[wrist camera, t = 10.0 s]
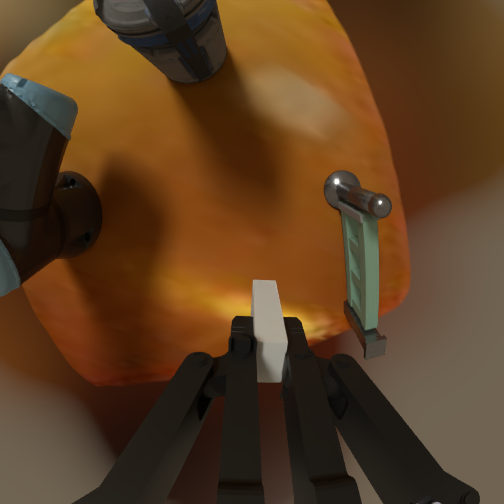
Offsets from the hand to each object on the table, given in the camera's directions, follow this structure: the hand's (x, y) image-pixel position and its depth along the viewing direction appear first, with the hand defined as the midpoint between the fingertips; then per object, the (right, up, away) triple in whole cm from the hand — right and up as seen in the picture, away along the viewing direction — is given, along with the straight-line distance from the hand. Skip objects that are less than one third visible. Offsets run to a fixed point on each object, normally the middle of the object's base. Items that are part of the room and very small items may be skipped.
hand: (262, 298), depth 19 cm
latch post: (+17, -7, +29) cm, 34 cm away
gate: (+15, +3, +24) cm, 29 cm away
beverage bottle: (-9, +32, +15) cm, 36 cm away
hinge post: (+13, +13, +22) cm, 28 cm away
